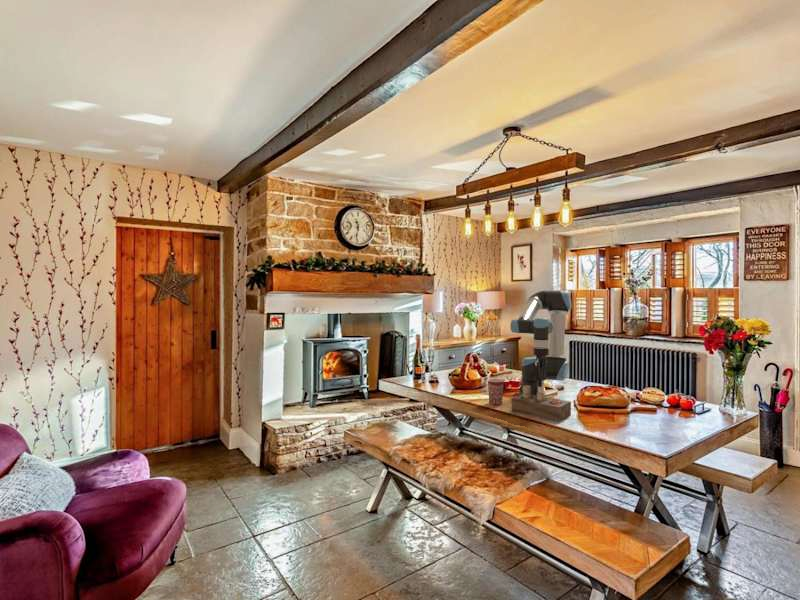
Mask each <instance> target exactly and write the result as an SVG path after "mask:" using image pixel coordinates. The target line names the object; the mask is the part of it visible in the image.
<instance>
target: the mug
mask: <svg viewBox="0 0 800 600" xmlns="http://www.w3.org/2000/svg"><path fill="white" fill-rule="evenodd" d="M487 386H488V387H487V388H488V402H489V404H490V405H492V406H501V405H503V399H504V398H503V397H504V394H505V393H506V388H507V385H506V382H505V380H504V379H503V378H502V379H501V378H496V377H495V378H488V379H487Z"/></svg>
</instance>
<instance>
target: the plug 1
mask: <svg viewBox="0 0 800 600" xmlns="http://www.w3.org/2000/svg"><path fill="white" fill-rule="evenodd" d="M530 393H531V386H523V398H525V399H530Z"/></svg>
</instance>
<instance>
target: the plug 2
mask: <svg viewBox="0 0 800 600" xmlns="http://www.w3.org/2000/svg"><path fill="white" fill-rule="evenodd" d="M551 398H552V403H553V404H560V400H561V398H560V397H551Z"/></svg>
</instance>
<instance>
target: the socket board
mask: <svg viewBox="0 0 800 600" xmlns="http://www.w3.org/2000/svg"><path fill="white" fill-rule="evenodd" d="M552 398H553V397H546V396H545V401H544V402H542V401H537V396H535V395H530V399H525V398H523V394H522V395H519V394H518V395H517V396H515V397H512V398H511V412H512V411H513V413H516V414H517V413H518V414H521V415H527V416H532V417H537V418H542V419H548V420H551V421H555V422H556V421H557V422H561V421H563V420H564V419H566V418H569V417H571V414H572V409H571V408H572V402H571V401H570V400H569V401H568V400H564V399H560V404H553V403H552Z"/></svg>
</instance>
